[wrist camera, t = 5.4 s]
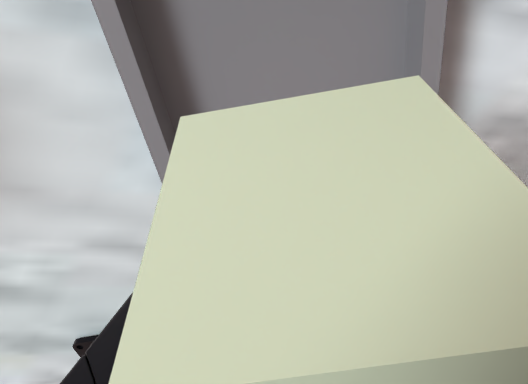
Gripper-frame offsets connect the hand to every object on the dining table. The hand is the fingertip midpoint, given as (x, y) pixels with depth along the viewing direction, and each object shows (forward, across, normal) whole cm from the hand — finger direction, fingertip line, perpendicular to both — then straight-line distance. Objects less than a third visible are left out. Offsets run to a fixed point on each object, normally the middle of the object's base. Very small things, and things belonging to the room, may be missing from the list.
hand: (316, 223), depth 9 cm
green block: (+1, 0, 0) cm, 1 cm away
